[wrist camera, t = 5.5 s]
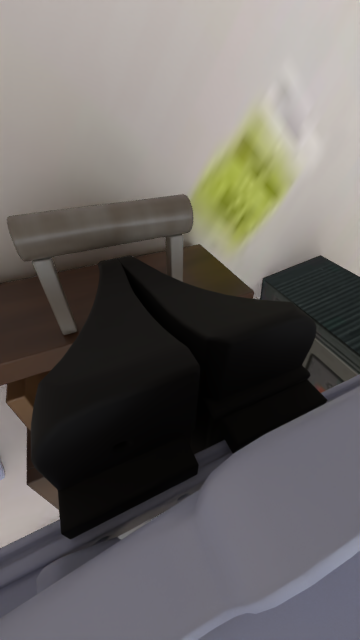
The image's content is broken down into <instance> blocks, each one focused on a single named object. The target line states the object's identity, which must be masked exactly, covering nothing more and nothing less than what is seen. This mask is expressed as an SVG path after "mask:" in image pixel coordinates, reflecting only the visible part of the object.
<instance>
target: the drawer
mask: <svg viewBox="0 0 360 640" xmlns="http://www.w3.org/2000/svg"><path fill="white" fill-rule="evenodd" d="M7 224H8V229H9V232H10V235H11V238H12V241H13V243H14V246H15V248H16V250H17V252H18V254H19V256H20V257H21V259H22V260H23V261H31V260H32V264H33V266H34V268H35V271H36V273H37V275H38V276H35V277H30V278H25V279H20V280H15V281H10V282H5V283H0V386H1V385H4V384H7V394H6V403H7V404H8V405H9V407H10V408H11V409H12V410H13V411H14V413H15V414H16V415H17V416H18V417H19V418H20V420H21V421H22V422H23V423H24V424H25V425H26V427H27V428H28V429H29V430H30V431H31V421H32V413H33V407H34V401H35V397H36V392H37V388H38V384H39V383H40V381H41V380H42V379H43V378H44V377H45V376H46V375H47V374H48V373H49V372H50V371H51V370H52V369H53V368H54V367H55V365H56V364H57V363H58V362H59V361H60V360H61V359H62V358H63V356H64V355H65V354H66V352H67V351H68V349H69V348H70V347H71V345H72V344H73V342H74V341H75V340H76V338H77V336H78V335H79V333H80V331H81V330H82V328H83V326H84V324H85V322H86V320H87V318H88V316H89V314H90V311H91V309H92V306H93V303H94V300H95V296H96V293H97V289H98V283H99V267H98V264H96V265H91V266H86V267H81V268H76V269H71V270H66V271H61V272H57V270H56V268H55V265H54V262H53V259H52V257H54V256H59V255H65V254H71V253H76V252H82V251H87V250H93V249H99V248H104V247H110V246H116V245H121V244H127V243H132V242H138V241H144V240H149V239H155V238H160V237H165V238H166V251H162V252H157V253H152V254H147V255H142V256H137V257H135V258H137V259H139V260H140V261H142V262H144V263H146V264H147V265H149V266H151V267H153V268H155V269H157V270H158V271H160V272H162V273H164V274H166V275H168V276H171V277H173V278H175V279H177V280H180V281H182V282H185V283H187V284H190V285H193V286H196V287H199V288H202V289H206V290H209V291H213V292H217V293H222V294H226V295H231V296H237V297H243V298H250V299H253V296H254V291H253V290H252V289H251V288H249V287H248V286H247V285H246V284H245V283H244V282H242V281H241V280H240V279H239V278H238V277H237V276H236V275H234V274H233V273H232V272H231V271H230V270H229V269H228V268H226V267H225V266H224V265H223V264H222V263H221V262H220V261H218V260H217V259H216V258H215V257H214V256H213V255H212V254H210V253H209V252H208V251H207V250H206V249H205V248H203V247H202V246H201V245H200V244H198V245H193V246H188V247H183V233H188V232H190V230H191V229H192V225H193V210H192V206H191V203H190V200H189V198H188V197H187V196H186V195H184V194H182V195H174V196H166V197H158V198H150V199H142V200H134V201H126V202H118V203H110V204H102V205H94V206H86V207H78V208H70V209H62V210H54V211H46V212H39V213H31V214H23V215H15V216H9V217H7Z"/></svg>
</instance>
